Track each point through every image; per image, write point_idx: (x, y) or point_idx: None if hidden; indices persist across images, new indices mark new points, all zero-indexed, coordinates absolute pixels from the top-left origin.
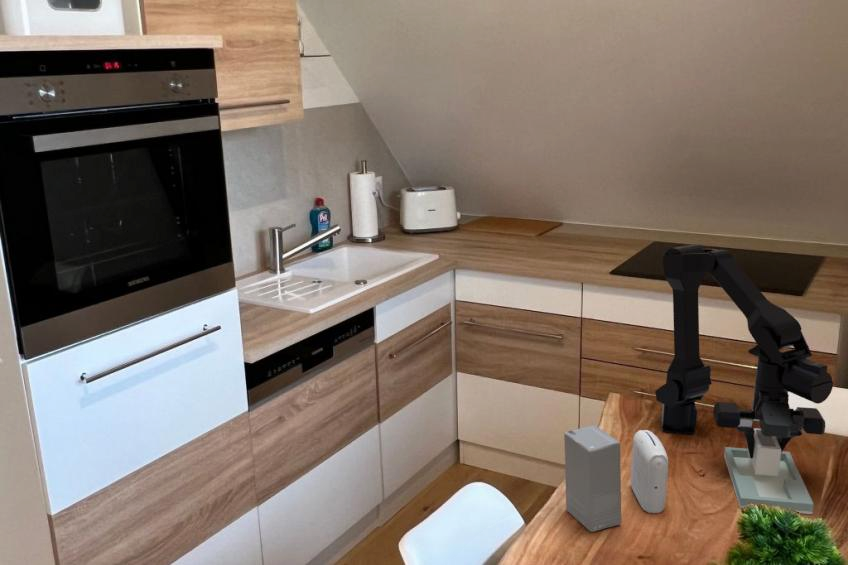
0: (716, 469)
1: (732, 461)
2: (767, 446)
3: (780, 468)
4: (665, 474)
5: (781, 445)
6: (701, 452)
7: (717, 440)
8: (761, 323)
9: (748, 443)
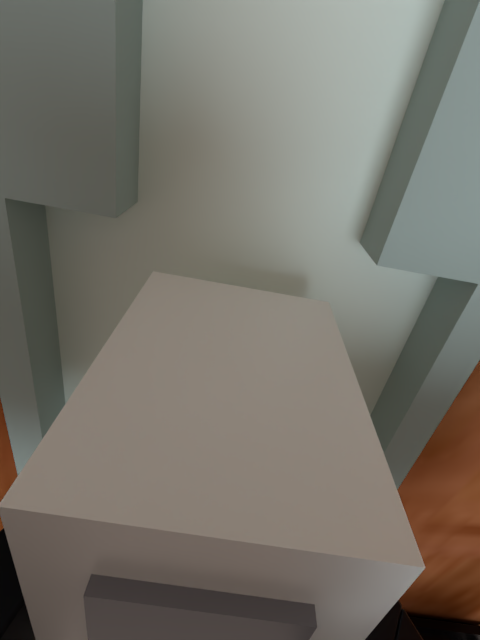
0: (458, 415)
1: (403, 449)
2: (231, 583)
3: None
4: None
5: (11, 576)
6: (431, 529)
7: None
8: None
9: (400, 620)
